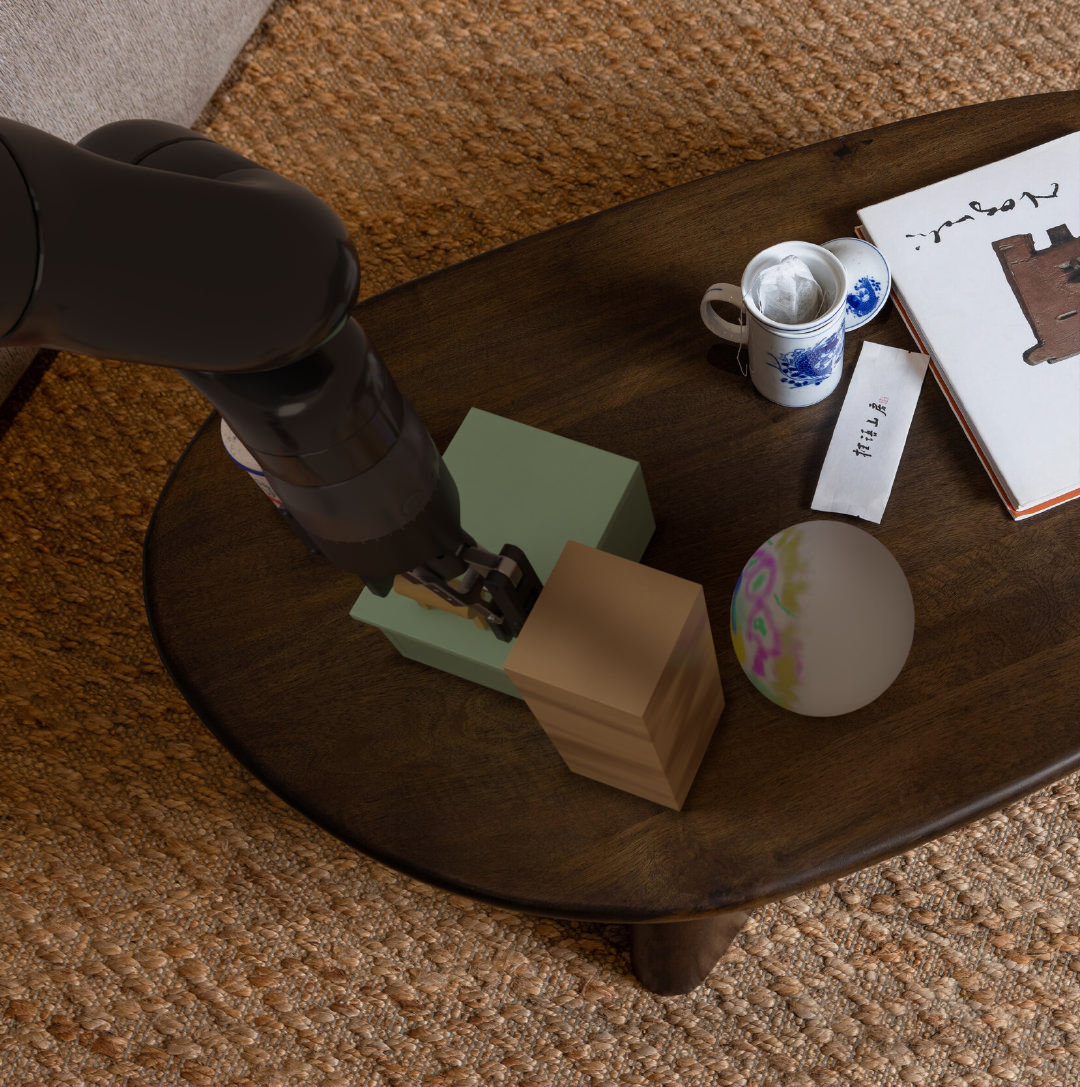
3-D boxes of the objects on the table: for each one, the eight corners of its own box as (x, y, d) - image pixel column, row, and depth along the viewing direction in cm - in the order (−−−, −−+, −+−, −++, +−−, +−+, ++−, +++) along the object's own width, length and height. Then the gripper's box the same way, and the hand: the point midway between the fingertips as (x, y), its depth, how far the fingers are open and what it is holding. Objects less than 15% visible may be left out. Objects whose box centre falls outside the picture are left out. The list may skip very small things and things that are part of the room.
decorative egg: (738, 573, 86) (726, 470, 73) (905, 575, 87) (923, 473, 73) (731, 735, 81) (716, 656, 67) (909, 737, 81) (929, 658, 68)
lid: (532, 683, 73) (512, 652, 68) (352, 618, 75) (321, 583, 70) (641, 467, 80) (630, 425, 75) (474, 412, 82) (453, 367, 77)
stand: (680, 812, 78) (642, 717, 61) (570, 771, 80) (501, 666, 62) (725, 704, 82) (702, 584, 64) (620, 666, 83) (568, 538, 65)
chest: (565, 715, 81) (538, 671, 73) (402, 656, 83) (359, 606, 75) (656, 527, 88) (641, 468, 80) (504, 476, 90) (474, 412, 82)
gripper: (525, 454, 59) (581, 590, 73) (276, 370, 61) (378, 519, 75) (452, 582, 55) (526, 698, 70) (192, 489, 57) (315, 620, 72)
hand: (449, 605), depth 73 cm, fingers open, 8 cm apart
